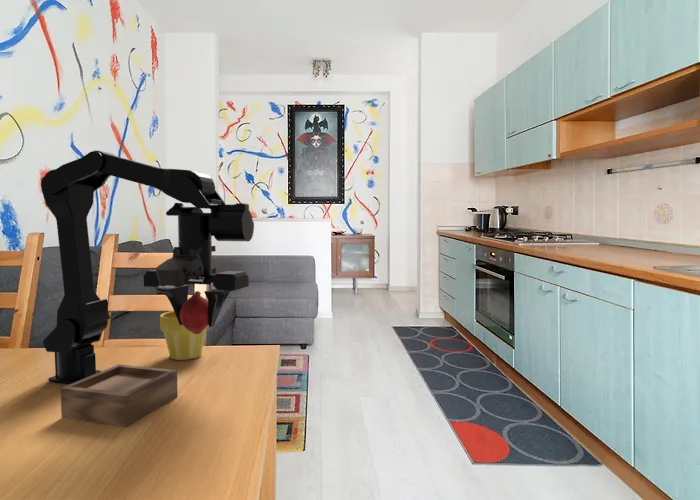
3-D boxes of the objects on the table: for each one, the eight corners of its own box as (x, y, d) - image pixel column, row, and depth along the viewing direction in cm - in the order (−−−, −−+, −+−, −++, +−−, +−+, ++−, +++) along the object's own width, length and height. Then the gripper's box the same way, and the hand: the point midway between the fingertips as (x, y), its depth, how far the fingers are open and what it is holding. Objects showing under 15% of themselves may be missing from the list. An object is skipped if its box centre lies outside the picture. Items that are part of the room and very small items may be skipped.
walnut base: (61, 417, 70) (60, 388, 70) (119, 389, 82) (118, 364, 81) (126, 427, 67) (125, 396, 67) (177, 396, 79) (176, 370, 78)
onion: (203, 339, 80) (202, 294, 80) (173, 337, 81) (172, 293, 81) (218, 331, 86) (218, 289, 85) (191, 329, 87) (190, 288, 87)
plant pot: (172, 349, 108) (171, 308, 107) (216, 349, 107) (215, 308, 107) (152, 362, 97) (151, 317, 97) (200, 363, 97) (199, 318, 96)
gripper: (119, 242, 77) (121, 332, 78) (216, 244, 72) (218, 340, 73) (162, 239, 88) (164, 319, 89) (249, 241, 83) (250, 325, 84)
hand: (196, 325), depth 84 cm, fingers closed on onion, 6 cm apart
